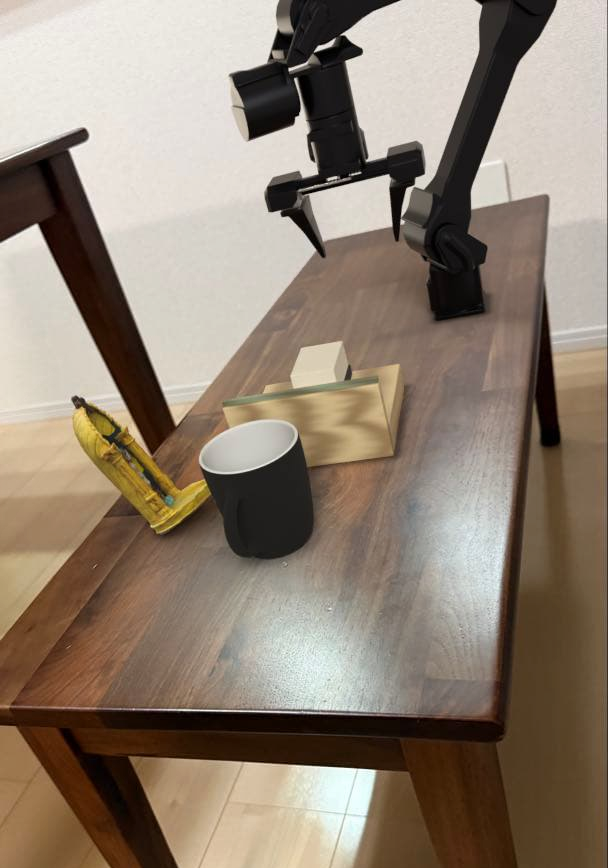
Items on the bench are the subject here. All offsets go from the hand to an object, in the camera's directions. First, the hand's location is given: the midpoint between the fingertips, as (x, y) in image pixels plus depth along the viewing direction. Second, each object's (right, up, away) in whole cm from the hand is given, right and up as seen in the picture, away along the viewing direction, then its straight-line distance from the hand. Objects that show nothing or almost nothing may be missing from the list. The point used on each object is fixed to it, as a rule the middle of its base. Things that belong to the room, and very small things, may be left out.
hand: (360, 249), depth 103 cm
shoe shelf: (-4, -23, -10) cm, 26 cm away
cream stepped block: (-5, -20, -11) cm, 23 cm away
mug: (-10, -37, -27) cm, 46 cm away
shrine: (-20, -34, -19) cm, 44 cm away
